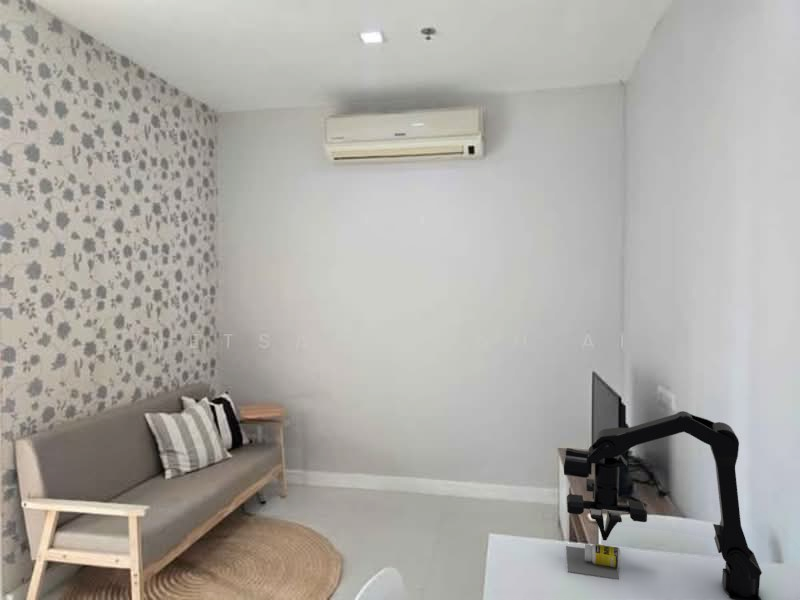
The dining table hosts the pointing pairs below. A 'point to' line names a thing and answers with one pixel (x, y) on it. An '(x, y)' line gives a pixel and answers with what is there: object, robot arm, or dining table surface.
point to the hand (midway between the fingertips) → (604, 539)
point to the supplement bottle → (603, 555)
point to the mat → (587, 565)
